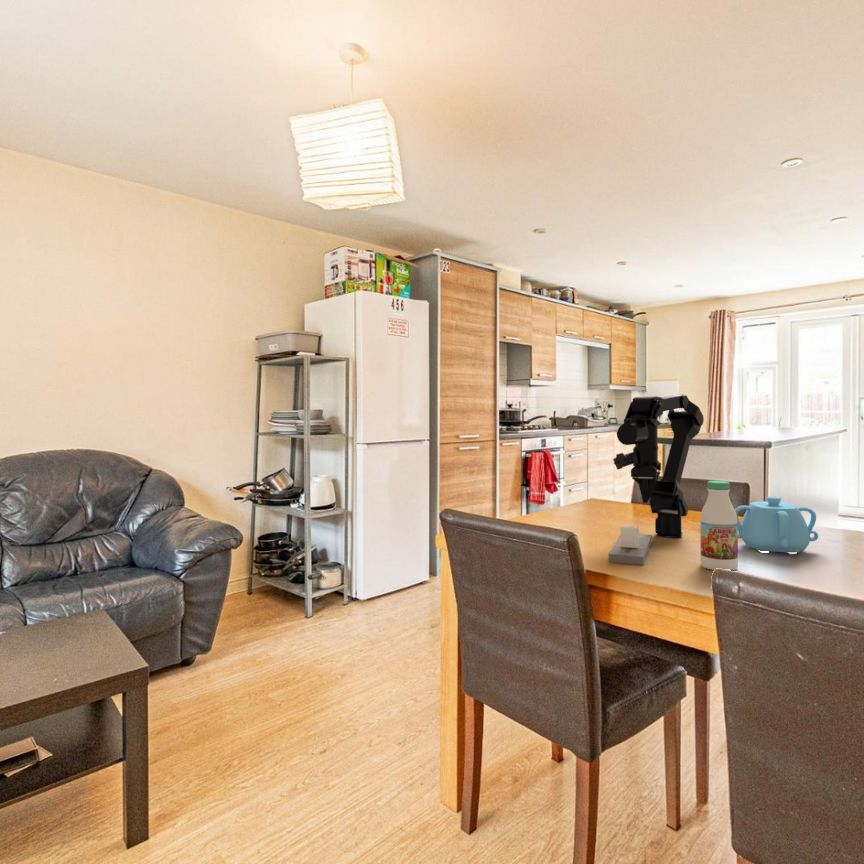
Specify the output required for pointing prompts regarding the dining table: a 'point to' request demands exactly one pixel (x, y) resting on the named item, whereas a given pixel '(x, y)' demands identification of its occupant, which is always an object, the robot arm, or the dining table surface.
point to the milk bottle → (718, 529)
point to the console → (631, 551)
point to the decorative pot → (776, 526)
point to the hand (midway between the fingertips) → (646, 499)
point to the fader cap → (629, 536)
